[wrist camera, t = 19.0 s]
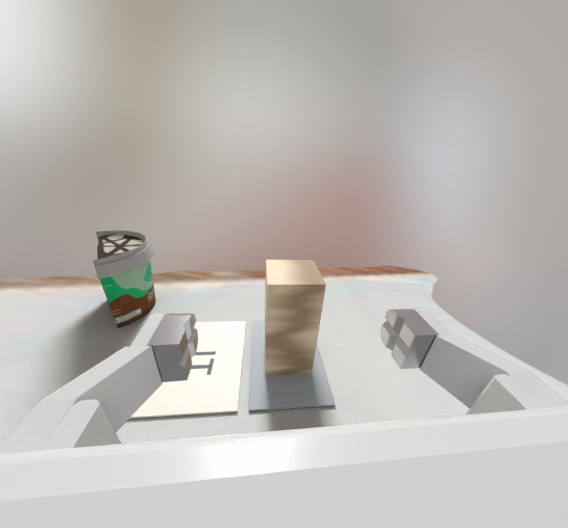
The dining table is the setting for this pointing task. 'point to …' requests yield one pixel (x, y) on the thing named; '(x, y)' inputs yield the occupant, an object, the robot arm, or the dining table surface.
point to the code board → (235, 378)
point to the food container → (126, 274)
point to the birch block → (292, 315)
